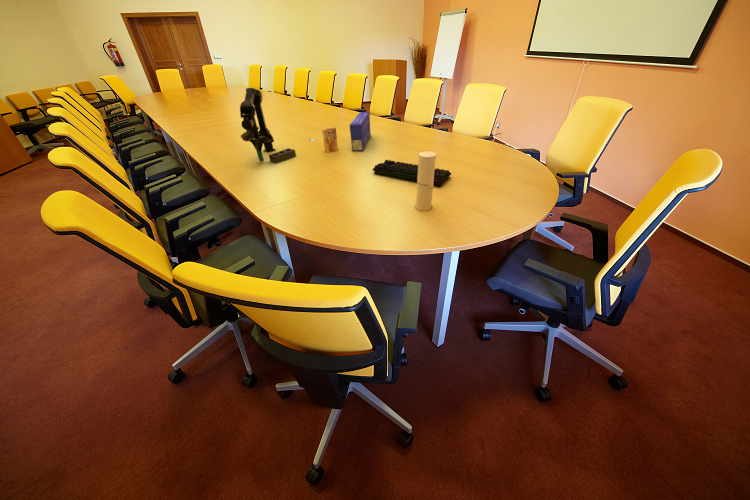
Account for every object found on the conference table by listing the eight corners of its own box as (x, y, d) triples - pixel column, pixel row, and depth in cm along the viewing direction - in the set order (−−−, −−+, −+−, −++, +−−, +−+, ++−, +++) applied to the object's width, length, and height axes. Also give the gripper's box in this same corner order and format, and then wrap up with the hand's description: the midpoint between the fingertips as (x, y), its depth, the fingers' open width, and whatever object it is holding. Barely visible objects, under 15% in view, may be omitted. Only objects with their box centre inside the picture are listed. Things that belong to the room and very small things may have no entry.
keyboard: (451, 177, 163) (452, 168, 160) (440, 188, 152) (441, 179, 149) (386, 165, 182) (386, 157, 179) (372, 174, 170) (372, 166, 168)
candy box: (335, 148, 213) (332, 126, 204) (338, 149, 210) (335, 127, 201) (324, 151, 208) (321, 128, 199) (328, 152, 206) (325, 130, 197)
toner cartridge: (360, 136, 237) (359, 111, 226) (370, 136, 236) (369, 111, 225) (351, 151, 206) (349, 124, 195) (363, 151, 205) (361, 124, 194)
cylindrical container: (414, 204, 139) (417, 152, 124) (429, 203, 139) (433, 151, 124) (417, 211, 133) (420, 157, 118) (432, 210, 133) (437, 156, 118)
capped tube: (258, 161, 192) (253, 145, 186) (262, 159, 194) (257, 143, 188) (261, 162, 190) (256, 146, 184) (265, 160, 192) (260, 144, 186)
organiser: (270, 161, 194) (268, 155, 192) (290, 154, 205) (288, 148, 202) (276, 163, 191) (274, 156, 188) (296, 156, 202) (294, 149, 199)
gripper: (232, 126, 179) (239, 152, 188) (249, 131, 169) (256, 157, 179) (247, 123, 186) (254, 147, 195) (265, 126, 176) (271, 152, 185)
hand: (258, 151), depth 188 cm, fingers closed on capped tube, 3 cm apart
